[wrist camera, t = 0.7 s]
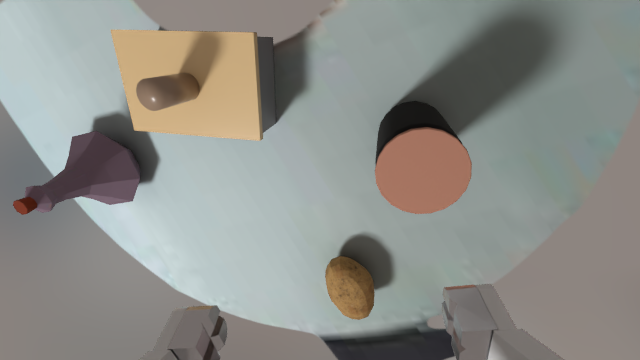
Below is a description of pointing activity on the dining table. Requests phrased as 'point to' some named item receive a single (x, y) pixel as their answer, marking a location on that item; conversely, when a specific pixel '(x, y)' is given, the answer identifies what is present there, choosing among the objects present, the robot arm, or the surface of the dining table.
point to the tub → (267, 81)
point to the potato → (350, 287)
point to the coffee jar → (420, 160)
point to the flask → (88, 175)
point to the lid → (191, 82)
